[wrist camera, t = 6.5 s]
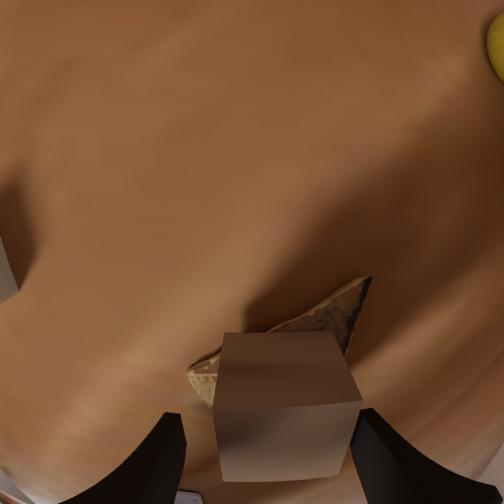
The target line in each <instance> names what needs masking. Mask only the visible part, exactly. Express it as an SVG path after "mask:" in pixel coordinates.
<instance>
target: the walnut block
mask: <svg viewBox="0 0 504 504" xmlns="http://www.w3.org/2000/svg"><path fill="white" fill-rule="evenodd" d="M362 402H363V399H362V397H361V394H360V392H359V390H358V388H357V385H356V383H355V381H354V379H353V376H352V374H351V372H350V370H349V367H348V365H347V363H346V361H345V358H344V356H343V354H342V352H341V350H340V348H339V345H338V343H337V341H336V339H335V337H334V335H333V332H332V330H326V331H305V332H270V333H224V338H223V344H222V350H221V356H220V362H219V368H218V374H217V381H216V387H215V393H214V399H213V406H212V410H213V417H214V425H215V432H216V439H217V446H218V453H219V459H220V465H221V472H222V478H223V481H228V482H273V481H292V480H304V479H314V478H323V477H331V476H338V474H339V471H340V469H341V466H342V463H343V461H344V458H345V455H346V452H347V449H348V447H349V444H350V441H351V438H352V435H353V432H354V429H355V425H356V422H357V419H358V416H359V412H360V409H361V406H362Z"/></svg>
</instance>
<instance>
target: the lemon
mask: <svg viewBox="0 0 504 504" xmlns="http://www.w3.org/2000/svg"><path fill="white" fill-rule="evenodd" d="M487 50H488V55H489V58H490V61H491V63H492V67H493V68H494V69H495V71H496V73H497V75H498V76H499V77H500V79H501V80H502V81H503V82H504V12H503V13H501V14H500V15H498V16H497V17H496V18H495V19H494V20H493V22H492V23H491V25H490V28H489V30H488V33H487Z"/></svg>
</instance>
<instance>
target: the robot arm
mask: <svg viewBox="0 0 504 504" xmlns="http://www.w3.org/2000/svg"><path fill="white" fill-rule="evenodd" d="M186 446H187V442H186V438H185V433H184V429H183V424H182V419H181V414H178V413H169V412H165V413H164V414H163V415H162V417H161V418H160V420H159V421H158V422H157V424H156V425H155V427H154V428H153V429H152V430H151V432H150V433H149V434H148V436H147V437H146V438H145V439H144V440H143V441H142V443H141V444H140V445H139V446H138V447H137V448H136V450H135V451H134V452H133V453H132V454H131V455H130V456H129V457H128V458H127V459H126V460H125V461H124V462H123V463H122V464H121V465H120V466H118V467H117V468H116V469H115V470H114V471H113V472H111V473H110V474H109V475H108V476H106V477H105V478H104V479H102V480H101V481H99V482H98V483H97V484H95V485H94V486H92V487H91V488H89V489H87V490H85V491H84V492H82V493H80V494H78V495H76V496H74V497H73V498H70V499H68V500H66V501H63V502H61V503H58V504H203V502H202V498H201V495H200V494H198V493H192V492H183V491H177V490H178V486H179V483H180V479H181V475H182V471H183V467H184V462H185V455H186ZM350 447H351V452H352V457H353V461H354V464H355V467H356V470H357V473H358V476H359V479H360V481H361V484H362V487H363V490H364V493H365V496H366V499H367V502H368V504H501V503H502V501H503V498H502V496H501V495H500V493H499V491H498V489H497V488H496V487H495V486H493V485H489V484H485V483H481V482H477V481H474V480H471V479H469V478H466V477H463V476H461V475H458V474H456V473H454V472H452V471H450V470H448V469H446V468H444V467H442V466H441V465H439V464H437V463H436V462H434V461H432V460H431V459H429V458H428V457H426V456H425V455H423V454H422V453H421V452H419V451H418V450H417V449H416V448H414V447H413V446H412V445H411V444H410V443H408V442H407V441H406V440H405V439H404V438H403V437H402V436H401V435H400V434H398V433H397V432H396V431H395V430H394V429H393V428H392V427H391V426H390V425H389V424H388V423H387V422H386V421H385V420H384V419H383V418H382V417H381V416H380V415H379V414H378V413H377V412H376V411H375V410H374V409H373V408H368V409H362V410H360V412H359V416H358V419H357V422H356V425H355V429H354V432H353V435H352V438H351V441H350Z"/></svg>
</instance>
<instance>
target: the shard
mask: <svg viewBox="0 0 504 504" xmlns="http://www.w3.org/2000/svg"><path fill="white" fill-rule="evenodd" d="M372 276H373V275H369V276H367V277H361V278H360V277H357V278H355V279H353V280H352V281H351V282H350V283H348V284H346V285H345V286H343V287H341V288H340V289H338V290H337V291H335V292H334V293H333V294H332V295H331V296H329V297H328V298H326V299H324V300H322V301H321V302H320V303H319V304H317V305H316V306H314V307H312V308H311V309H309V310H308V311H307V312H305V313H303V314H302V315H301V316H299V317H297V318H295V319H293V320H289V321H284V322H282V323H281V324H279V325H277V326H276V327H274V328H272V329H270V330H269V331H267V332H266V333H270V332H305V331H326V330H332V332H333V335H334V337H335V339H336V341H337V343H338V345H339V348H340V350H341V352H342V354H343V356H344V358H345V357H346V353H347V351H348V348H349V345H350V342H351V339H352V336H353V333H354V329H355V324H356V321H357V318H358V315H359V312H360V310H361V308H362V304H363V302H364V301H365V299H366V297H367V295H368V291H369V287H370V283H371V281H372ZM220 356H221V352H220V353H218V354H217V355H215V356H213V357H211V358H210V359H208V360H204V361H202V362H200V363H197V364H196V365H195V366H193V367H190V368H188V369H187V371H186V374H187V376H188V378H189V380H190V382H191V384H192V385H193V386H194V387H195V389H196V391H197V392H198V393H199V395H200V397H201V399H202V400H203V402H204V403H205V404H206V405H208V407H209V408H210V409H211V410H212V406H213V399H214V393H215V387H216V381H217V374H218V368H219V362H220ZM212 411H213V410H212Z"/></svg>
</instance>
